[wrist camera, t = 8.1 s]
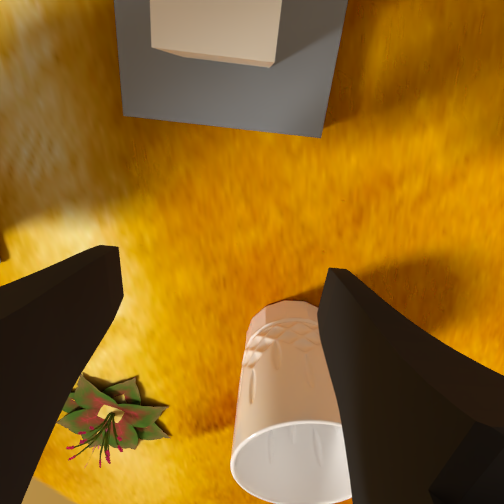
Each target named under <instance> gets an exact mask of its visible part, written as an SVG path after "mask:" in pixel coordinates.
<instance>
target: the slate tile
mask: <svg viewBox="0 0 504 504" xmlns="http://www.w3.org/2000/svg"><path fill="white" fill-rule="evenodd" d="M347 3H348V0H282V5H281V13H280V21H279V30H278V38H277V46H276V54H275V63H274V64H273V65H272V66H271V67H270V68H267V67H259V66H251V65H243V64H235V63H226V62H218V61H210V60H202V59H194V58H186V57H181V56H178V55H175V54H171V53H168V52H165V51H162V50H158V49H155V48H152V47H151V20H150V0H114V8H115V21H116V33H117V45H118V57H119V69H120V82H121V94H122V106H123V116H130V117H139V118H148V119H156V120H165V121H174V122H183V123H192V124H201V125H210V126H218V127H227V128H236V129H245V130H254V131H263V132H272V133H281V134H289V135H298V136H307V137H316V138H321V135H322V130H323V125H324V120H325V115H326V110H327V105H328V100H329V95H330V89H331V84H332V79H333V74H334V69H335V64H336V59H337V54H338V49H339V44H340V39H341V34H342V29H343V24H344V19H345V14H346V8H347Z"/></svg>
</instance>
